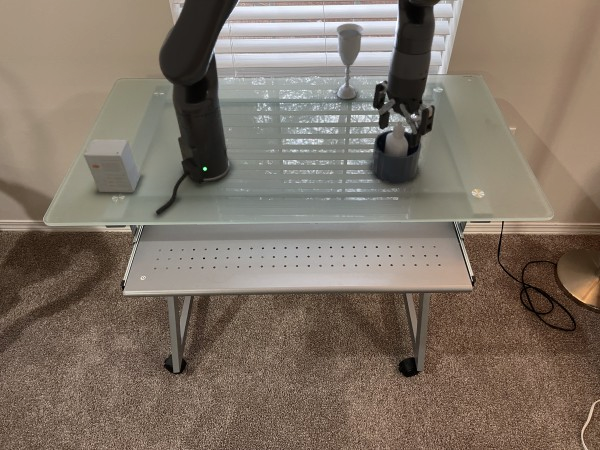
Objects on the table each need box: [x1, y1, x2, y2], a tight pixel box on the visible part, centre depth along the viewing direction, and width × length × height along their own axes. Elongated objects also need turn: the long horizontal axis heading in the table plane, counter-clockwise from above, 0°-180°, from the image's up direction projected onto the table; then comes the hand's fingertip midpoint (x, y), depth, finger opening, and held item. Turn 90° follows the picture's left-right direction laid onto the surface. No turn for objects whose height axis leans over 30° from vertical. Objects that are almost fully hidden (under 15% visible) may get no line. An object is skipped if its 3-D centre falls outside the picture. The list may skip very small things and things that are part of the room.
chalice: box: [335, 23, 364, 100], centre depth 131 cm, size 7×7×18 cm
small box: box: [83, 139, 141, 193], centre depth 109 cm, size 8×6×10 cm
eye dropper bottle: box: [384, 120, 408, 157], centre depth 111 cm, size 4×6×12 cm
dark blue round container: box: [371, 129, 422, 184], centre depth 113 cm, size 10×10×7 cm
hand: (398, 136), depth 109 cm, fingers open, 8 cm apart
